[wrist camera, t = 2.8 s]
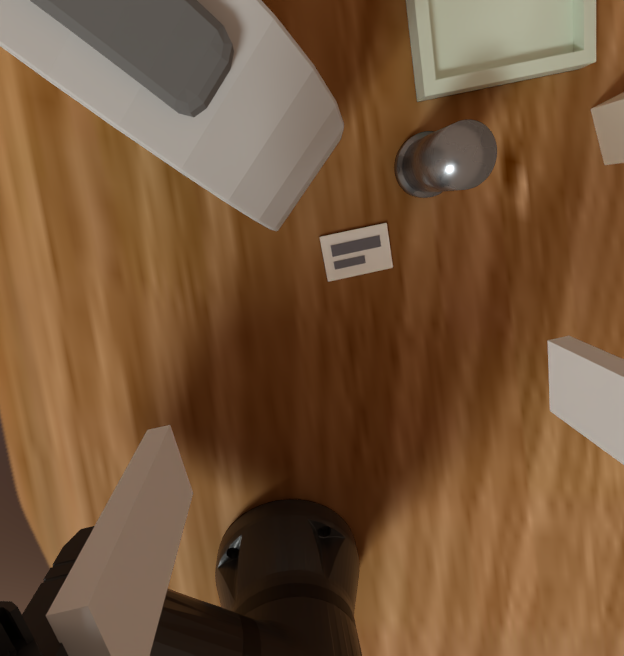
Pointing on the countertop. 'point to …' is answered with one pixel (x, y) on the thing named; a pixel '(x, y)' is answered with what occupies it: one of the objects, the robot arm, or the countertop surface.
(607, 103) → the cream block
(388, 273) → the countertop surface
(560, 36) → the tray
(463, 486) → the countertop surface
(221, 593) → the robot arm
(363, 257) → the label tile
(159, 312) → the countertop surface
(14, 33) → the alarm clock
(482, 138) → the metal door knob
